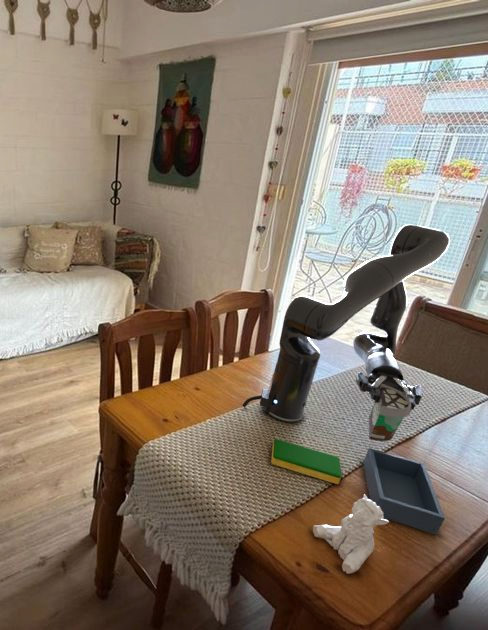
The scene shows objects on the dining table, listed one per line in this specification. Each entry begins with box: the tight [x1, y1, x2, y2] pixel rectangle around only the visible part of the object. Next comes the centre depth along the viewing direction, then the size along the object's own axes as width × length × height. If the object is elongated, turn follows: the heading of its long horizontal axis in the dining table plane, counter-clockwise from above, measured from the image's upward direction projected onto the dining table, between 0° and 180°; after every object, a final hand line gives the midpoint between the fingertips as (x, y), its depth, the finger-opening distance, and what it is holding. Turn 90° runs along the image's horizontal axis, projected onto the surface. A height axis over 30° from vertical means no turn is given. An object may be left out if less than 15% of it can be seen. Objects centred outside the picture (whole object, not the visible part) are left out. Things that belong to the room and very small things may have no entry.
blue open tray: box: [362, 447, 446, 536], centre depth 93 cm, size 11×17×4 cm, turn 154°
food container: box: [368, 384, 412, 442], centre depth 105 cm, size 12×6×10 cm, turn 148°
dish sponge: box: [270, 438, 342, 485], centre depth 102 cm, size 7×14×2 cm, turn 64°
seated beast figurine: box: [312, 493, 390, 575], centre depth 80 cm, size 10×9×12 cm
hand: (394, 403), depth 105 cm, fingers closed on food container, 6 cm apart
